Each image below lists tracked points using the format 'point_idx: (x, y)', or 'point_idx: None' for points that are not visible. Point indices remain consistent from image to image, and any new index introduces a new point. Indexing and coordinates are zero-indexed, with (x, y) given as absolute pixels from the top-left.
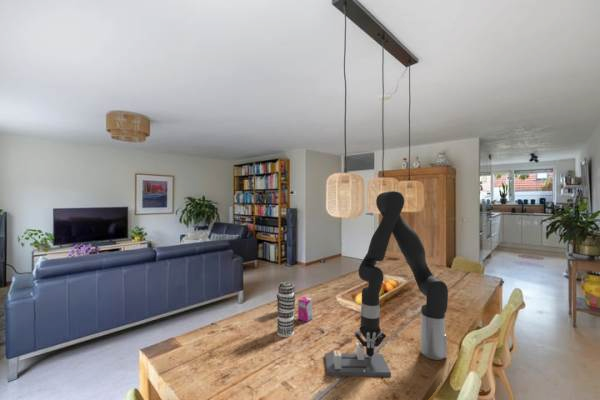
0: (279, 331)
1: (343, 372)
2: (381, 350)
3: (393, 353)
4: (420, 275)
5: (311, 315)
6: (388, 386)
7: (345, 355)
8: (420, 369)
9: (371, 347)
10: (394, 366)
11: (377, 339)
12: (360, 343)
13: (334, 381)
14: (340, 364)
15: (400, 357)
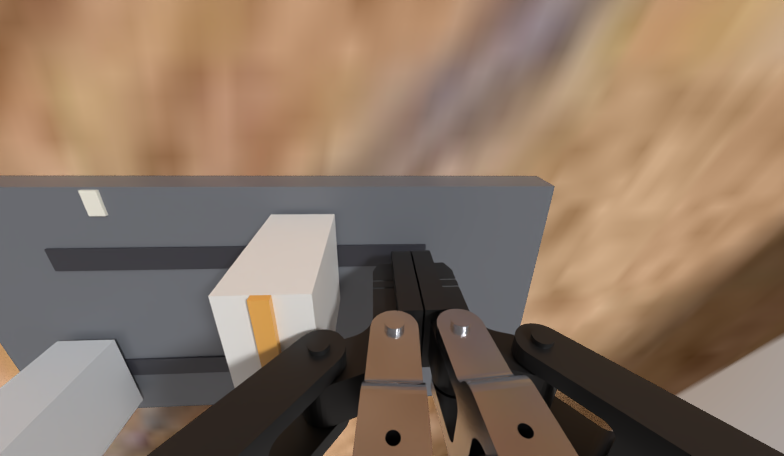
0: None
1: (171, 402)
2: (607, 34)
3: (697, 100)
4: None
5: None
6: (441, 429)
7: (155, 222)
8: (730, 306)
9: (432, 379)
10: (574, 285)
11: (600, 399)
12: (284, 320)
13: (133, 420)
14: (109, 439)
15: (711, 170)
